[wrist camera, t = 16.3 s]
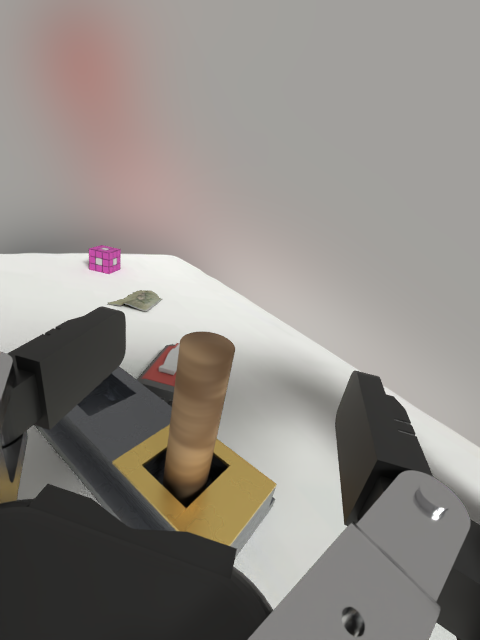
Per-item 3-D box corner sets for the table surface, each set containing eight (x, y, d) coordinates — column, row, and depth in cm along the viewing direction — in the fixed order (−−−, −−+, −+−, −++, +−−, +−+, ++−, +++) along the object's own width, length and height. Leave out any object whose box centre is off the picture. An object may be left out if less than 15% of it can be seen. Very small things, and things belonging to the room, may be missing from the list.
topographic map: (169, 295, 76) (169, 288, 75) (146, 313, 64) (147, 306, 63) (118, 285, 77) (118, 279, 76) (85, 301, 64) (85, 294, 64)
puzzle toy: (120, 269, 86) (120, 249, 84) (109, 274, 81) (109, 253, 78) (101, 265, 86) (101, 245, 84) (89, 269, 81) (88, 248, 79)
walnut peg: (184, 464, 31) (206, 327, 25) (213, 490, 29) (245, 348, 23) (152, 490, 28) (168, 341, 22) (182, 521, 26) (209, 367, 20)
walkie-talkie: (191, 423, 39) (225, 349, 57) (195, 395, 37) (229, 328, 55) (126, 405, 39) (180, 338, 58) (127, 377, 38) (183, 317, 56)
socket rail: (109, 373, 44) (109, 348, 42) (272, 505, 30) (283, 475, 28) (21, 409, 35) (16, 378, 34) (193, 615, 22) (201, 582, 20)
